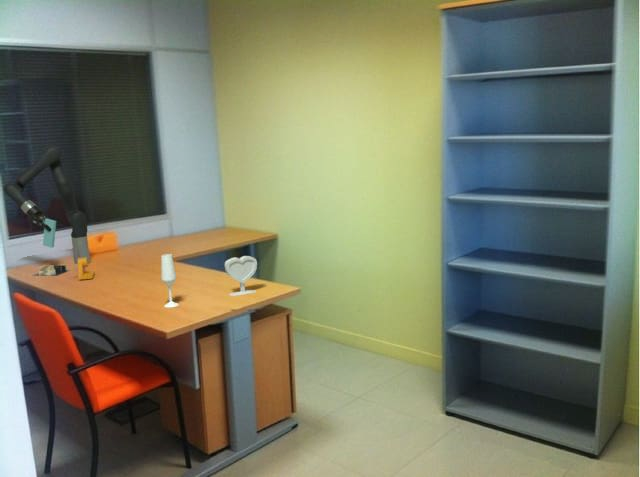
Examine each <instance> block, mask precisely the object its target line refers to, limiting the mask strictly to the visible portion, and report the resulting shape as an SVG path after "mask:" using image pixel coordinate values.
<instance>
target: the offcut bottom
mask: <svg viewBox="0 0 640 477" xmlns="http://www.w3.org/2000/svg"><path fill="white" fill-rule="evenodd" d="M38 273H39V275H54V274H56V272H55V270H52V271H40V270H38Z"/></svg>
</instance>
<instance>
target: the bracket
mask: <svg viewBox="0 0 640 477" xmlns="http://www.w3.org/2000/svg"><path fill="white" fill-rule="evenodd" d="M88 267H89V263H88V258H87V257H85V258H78V263H77V269H78V271H77V272H78V280H79V281H83V280H84V281H85V280H93V279H95V276H96V272H95V270H89V271H86V268H88Z"/></svg>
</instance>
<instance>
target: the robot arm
mask: <svg viewBox="0 0 640 477" xmlns="http://www.w3.org/2000/svg"><path fill="white" fill-rule="evenodd" d="M61 156H62V152H61V149H60V148H58V147H57V146H55V145H47V146H45V147H44V149H43V152H42V155H41V156H40V157H39V158H38V159H37V160H36V161H35V162H34V163H32V164H31V165H30V166H28V167H27V168H25V169H24V170H23V171H22V172H21V173H19V175H17V177H16V178H15V179H16V181H15V182H14V183H11V182H9V183H5V184H4V186H3V191H4V193H5V194H6V195H7V196H8V197H9V198H10V199H11V200H12V201H13V202H14V203H15V204H16V205H17V206H18V207H19V208H20V210H22V211H23V213H24V214H25V215H27V217H28V218H29V219H30V220H32V222H31V223H32V224H34V225H36V226H37V227H39V228H46V229H47V230H48V231H49V232H50V231H51V230H52V229H51V228H50V227H49V226H48V225H47V224H46V223H45V219H50V220H52V219H51V216H50V215H47V216H46V215H45V214H43V210H42V209H41V208H40V207H38V205H37V204H36V203H35V202H33V201H32V200H31V199H30V198H29V197H28V196H27V195H25V194H24V193H23V192H24V190H25V189H26V187H27V185H29V184H30V183H32V181H33V180H34V179H35V178H36V177H37V176H39V175H40V174H41V173H42V172H43V171H44V170H46V168H48V167H49V170H50V172H51V176H52V179H53V183H54V186H55V189H56V191H57V194H58V195H59V198H60V200H61V202H62V204H63V207H64V210H65V214H66V218H67V221H68V223H69V224H70V225H71V229H72V230H71V233H70V236H71V238H70V239H71V245H72V254H73V262H74V264H78V258H85V257H87V258H88V264H90V263H91V260H90V259H91V258H90V249H89V240H88V221H87V216H86V215H85V213H84V212H82V211H80V210H79V207H78V206H77V203H76V196H75V190H74V186H73V184H72V181H71V179H70V177H69V175H68V173H67V171H66V170H65V168H64V166H63V164H62V160H61Z"/></svg>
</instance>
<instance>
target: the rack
mask: <svg viewBox="0 0 640 477" xmlns="http://www.w3.org/2000/svg"><path fill="white" fill-rule="evenodd" d="M53 265H54V270H55V272H56V274H54V275H39V272H38V273H35V274H33V275H31V276H33V277H34V276H35V277H58V276H60V275H62V274H65V273H68V272H70V271H71V270H70V269H69V270H67V265H63V264H62V265H61V264H58V265H57V264H53Z"/></svg>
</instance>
